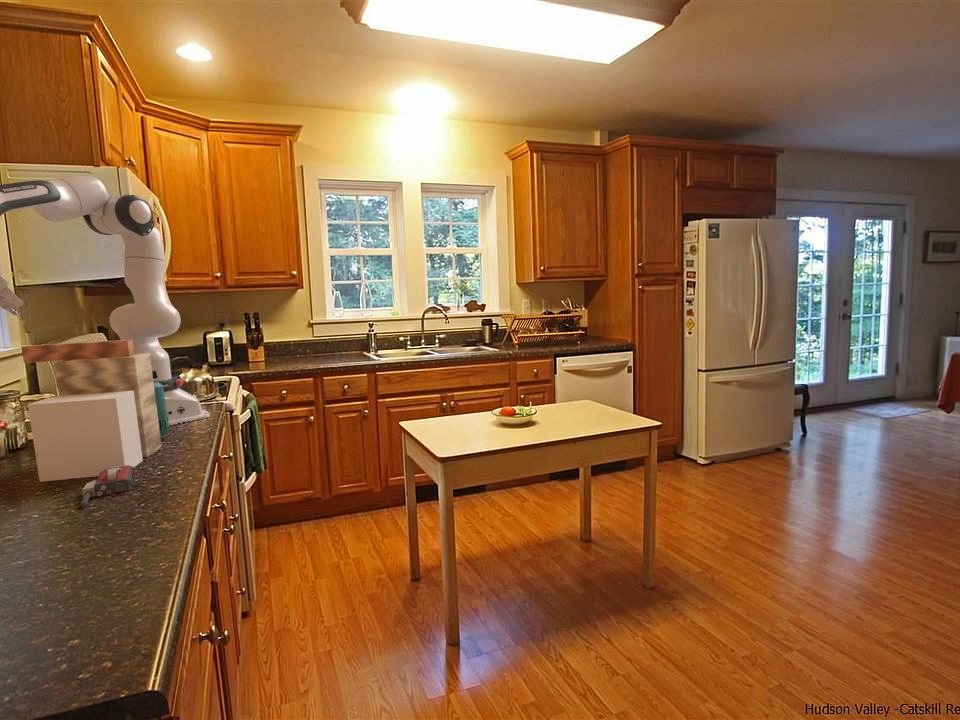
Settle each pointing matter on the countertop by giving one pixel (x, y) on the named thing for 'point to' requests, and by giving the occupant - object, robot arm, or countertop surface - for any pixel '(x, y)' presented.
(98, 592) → the countertop surface
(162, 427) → the beverage bottle
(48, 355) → the stick
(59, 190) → the robot arm
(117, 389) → the stand
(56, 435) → the plain white box
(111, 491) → the walkie-talkie
